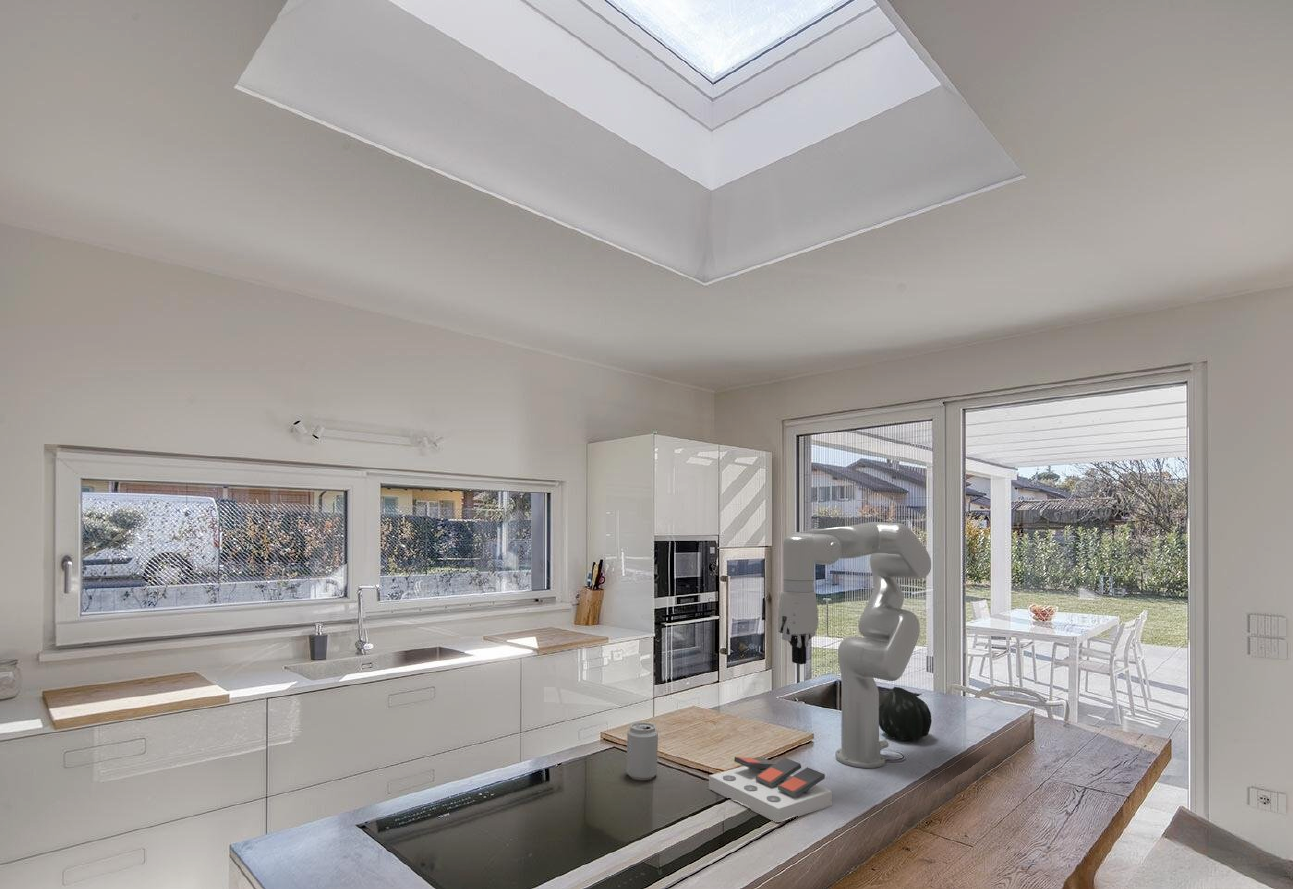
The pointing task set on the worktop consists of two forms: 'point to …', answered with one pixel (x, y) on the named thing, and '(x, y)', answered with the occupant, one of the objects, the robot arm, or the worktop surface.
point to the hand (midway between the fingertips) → (799, 662)
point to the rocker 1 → (754, 762)
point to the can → (642, 751)
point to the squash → (904, 715)
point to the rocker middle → (778, 772)
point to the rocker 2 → (801, 782)
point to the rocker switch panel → (767, 794)
